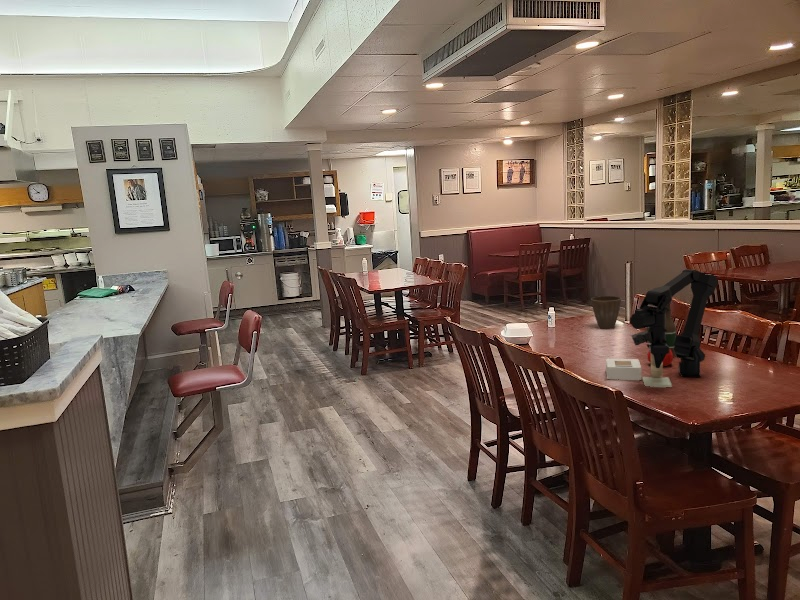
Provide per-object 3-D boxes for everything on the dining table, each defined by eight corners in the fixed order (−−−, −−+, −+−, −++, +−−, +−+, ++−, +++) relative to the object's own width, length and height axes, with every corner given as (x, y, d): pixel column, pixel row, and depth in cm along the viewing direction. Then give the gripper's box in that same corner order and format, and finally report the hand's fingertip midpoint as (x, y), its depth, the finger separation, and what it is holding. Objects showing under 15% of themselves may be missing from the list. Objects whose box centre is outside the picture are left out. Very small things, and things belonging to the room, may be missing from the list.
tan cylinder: (661, 375, 210) (661, 349, 208) (663, 378, 206) (663, 352, 204) (650, 375, 211) (650, 349, 209) (651, 378, 207) (651, 351, 206)
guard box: (638, 371, 225) (638, 358, 224) (641, 380, 213) (641, 367, 212) (606, 370, 228) (606, 358, 227) (607, 379, 217) (607, 366, 216)
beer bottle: (655, 357, 241) (655, 302, 238) (656, 353, 248) (656, 299, 244) (675, 358, 238) (676, 302, 234) (676, 354, 245) (676, 299, 241)
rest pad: (668, 380, 212) (668, 377, 212) (671, 387, 203) (671, 385, 203) (642, 379, 215) (642, 376, 214) (644, 386, 206) (644, 384, 206)
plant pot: (603, 332, 293) (603, 301, 291) (585, 327, 307) (585, 298, 304) (627, 328, 298) (627, 298, 295) (608, 323, 312) (608, 295, 309)
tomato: (670, 362, 234) (671, 344, 233) (674, 368, 226) (674, 350, 224) (646, 361, 237) (646, 344, 236) (648, 367, 228) (648, 349, 227)
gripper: (631, 319, 217) (631, 359, 219) (635, 330, 199) (635, 373, 202) (662, 319, 213) (662, 359, 216) (670, 330, 196) (669, 374, 198)
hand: (656, 366), depth 208 cm, fingers closed on tan cylinder, 4 cm apart
